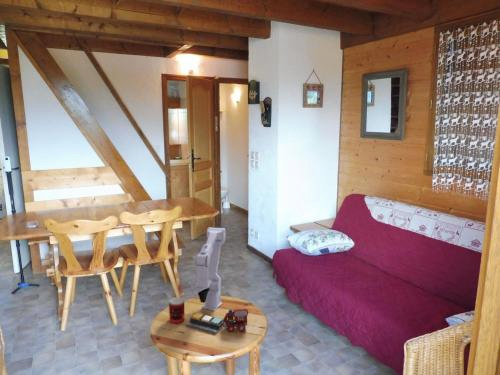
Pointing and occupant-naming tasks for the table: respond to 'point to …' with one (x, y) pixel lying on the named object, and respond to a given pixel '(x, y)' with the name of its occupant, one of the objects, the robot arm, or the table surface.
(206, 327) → the button panel
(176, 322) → the canned food
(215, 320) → the teal button
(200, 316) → the amber button
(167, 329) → the table surface
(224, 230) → the robot arm
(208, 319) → the cream button
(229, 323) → the toy fire truck
